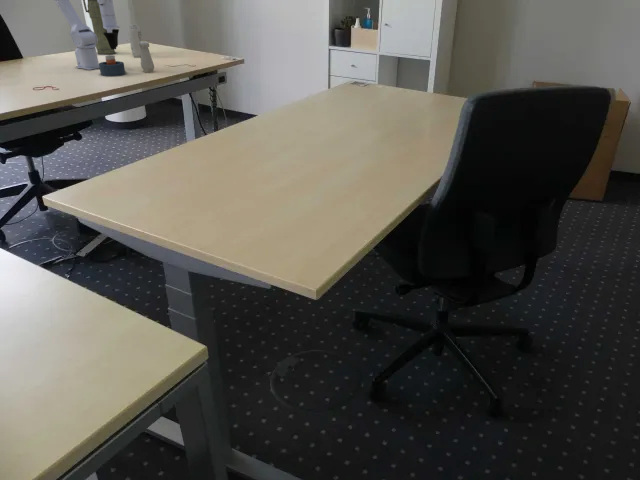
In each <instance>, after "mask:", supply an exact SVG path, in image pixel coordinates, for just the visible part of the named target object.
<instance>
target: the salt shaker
mask: <svg viewBox="0 0 640 480" xmlns="http://www.w3.org/2000/svg"><path fill="white" fill-rule="evenodd" d="M139 46H140V47H141V57H140V68H141V69H142V71H143V72H144V73H153V72H154V69H155V64H154V61H153V58H152V55H151V52H150V49H149V48H150V43H149V42H148V41H146V40H142V41H141V42H139Z"/></svg>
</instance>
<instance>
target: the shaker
mask: <svg viewBox="0 0 640 480" xmlns="http://www.w3.org/2000/svg"><path fill="white" fill-rule="evenodd" d="M104 57H105V62H106V64H107V65H114V64H116V61H117V59H116V56H115V55H114V54H110V55H104Z"/></svg>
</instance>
